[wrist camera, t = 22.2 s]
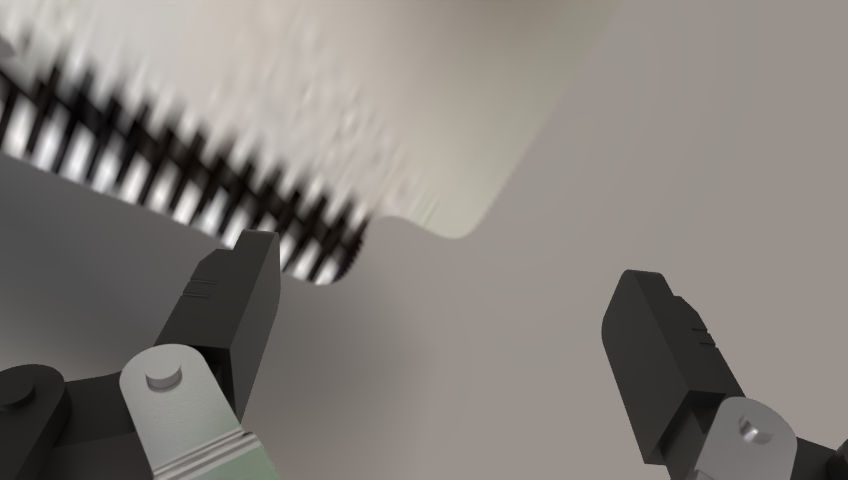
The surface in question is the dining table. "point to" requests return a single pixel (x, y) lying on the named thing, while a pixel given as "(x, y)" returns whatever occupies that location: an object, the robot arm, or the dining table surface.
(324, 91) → the dining table surface
